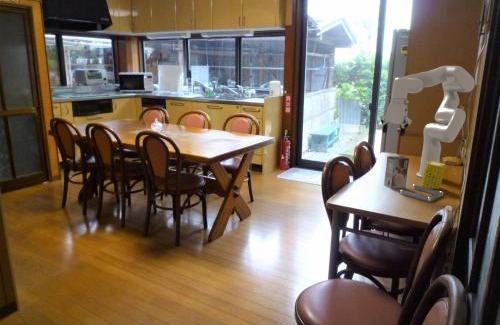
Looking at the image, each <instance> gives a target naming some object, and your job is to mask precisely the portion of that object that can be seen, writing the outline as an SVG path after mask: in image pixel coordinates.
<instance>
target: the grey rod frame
mask: <svg viewBox="0 0 500 325" xmlns="http://www.w3.org/2000/svg"><path fill="white" fill-rule="evenodd" d="M412 185H413V187H412V189H413V190H416V191H419V192H420V191H421V192H424V193H427V194H432V195H431V196H427V195H423V194H419V193H414V192H411V191H407V190H404V189H400V190H399V195H403V196H405V197H410V198H413V199H416V200H420V201H423V202H428V203H432V202H433V201H435V200H438V199H439V198H441V197H443V195H444V191H441V190H438V189H431V188H430V189H429V188H425V187H423V186H422V185H417V184H412Z"/></svg>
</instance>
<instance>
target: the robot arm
mask: <svg viewBox="0 0 500 325" xmlns="http://www.w3.org/2000/svg"><path fill="white" fill-rule="evenodd" d="M439 84H442V90H443V99H442V101H441V102H440V105H439V107H438V108H437V111H436V113H435V114H434V120H435V122H429V123H428V124H426V125H425V126H424V127H423V144H422V152H421V158H420V159H421V160H420V165H419V171H417V172H416V173H415V175H416V176H417V177H419V178H423V174H424V169H425V166H426V162H427V161H435V162H436V161H437V162H439V163H440V158H441V157H440V156H441V152H442V145H441V142H442V143H452V142H454V140H455V139H456V138H457V136H458V135H459V132H460V131H461V129H462V127H463V125H464V123H465V121H466V118H467V117H466V116H467V115H466V114H467V113H466V112H465V110H464V109H462V108H458V106H459V105H460V98H459V94H458V93H470V92H472V90H474V88H475V84H476V82H475V79H474V78H473V76H472V74H470V73H469V72H468V71H467V70H466V69H465V68H463V67H462V66H460V65H442V66H439V67H437V68H434V69H430V70H428V71H422V72H418V73H413V74H409V75H405V76H402V77H395V78H394V80H393V85H392V90H391V91H392V92H391V97H390V102H389V104H388V105H387V107H386V108H387V109H386V113H384V114H382V115H380V116H379V118H380V122H381V124H382V133H383V134H386V133H387V132H388V124H389V123H390V124H396V125H397V124H398V125H400V126H401V128H400V132H399V136H401V137H403V136H405V133H406V129H407V128H408V127H409V126H410V125H411V124H412V122H413V120H412V119H410V118H409V117H408V105H407V104H409V102H410V101H409V100H408V99H407V98H408V93H409V94H418V93H420V92H421V91H423V89H424V88H429V87H430V88H431V87H433V86H436V85H439Z"/></svg>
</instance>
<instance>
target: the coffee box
mask: <svg viewBox="0 0 500 325" xmlns="http://www.w3.org/2000/svg"><path fill="white" fill-rule="evenodd" d="M409 162H410V158H408V157H406V156H402V155H393V156H391V155H389V156H386V162H385V163H386V165H385V173H384V181H383V185H384V186H385V187H387V188H389V189H404V188H406V185H407V177H408V171H409V169H408V168H409Z"/></svg>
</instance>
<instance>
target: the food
mask: <svg viewBox="0 0 500 325" xmlns="http://www.w3.org/2000/svg"><path fill="white" fill-rule="evenodd" d="M445 170H446V164H445V163H444V162H443V163H442V162H440V161H439V162H437V161H436V162H435V161H427V162H426V166H425V169H424V174H423V178H422V177H421V178H422V179H421V183H420V184H421V185H420V186H421V187H425V188H429V189H433V190H439V189H441V184H442V183H443V177H444V174H445Z"/></svg>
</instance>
